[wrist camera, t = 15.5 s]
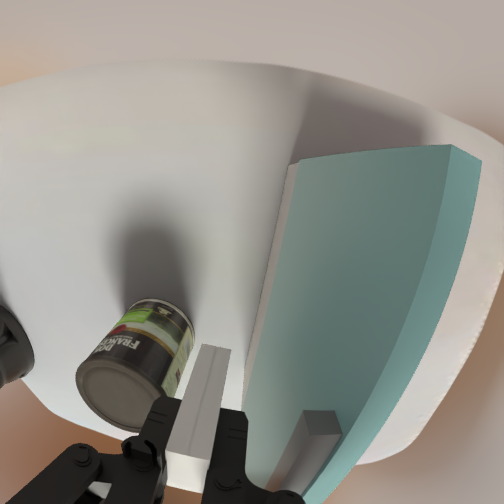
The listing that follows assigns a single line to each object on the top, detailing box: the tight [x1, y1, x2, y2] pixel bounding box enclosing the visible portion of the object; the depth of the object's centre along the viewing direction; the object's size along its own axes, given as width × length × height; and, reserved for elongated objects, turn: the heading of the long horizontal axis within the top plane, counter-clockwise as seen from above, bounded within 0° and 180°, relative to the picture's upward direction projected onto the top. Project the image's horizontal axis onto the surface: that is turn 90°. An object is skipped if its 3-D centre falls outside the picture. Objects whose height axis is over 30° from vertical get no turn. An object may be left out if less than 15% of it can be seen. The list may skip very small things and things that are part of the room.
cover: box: [242, 144, 482, 504], centre depth 16 cm, size 16×27×2 cm
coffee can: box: [76, 299, 194, 433], centre depth 31 cm, size 10×10×14 cm
